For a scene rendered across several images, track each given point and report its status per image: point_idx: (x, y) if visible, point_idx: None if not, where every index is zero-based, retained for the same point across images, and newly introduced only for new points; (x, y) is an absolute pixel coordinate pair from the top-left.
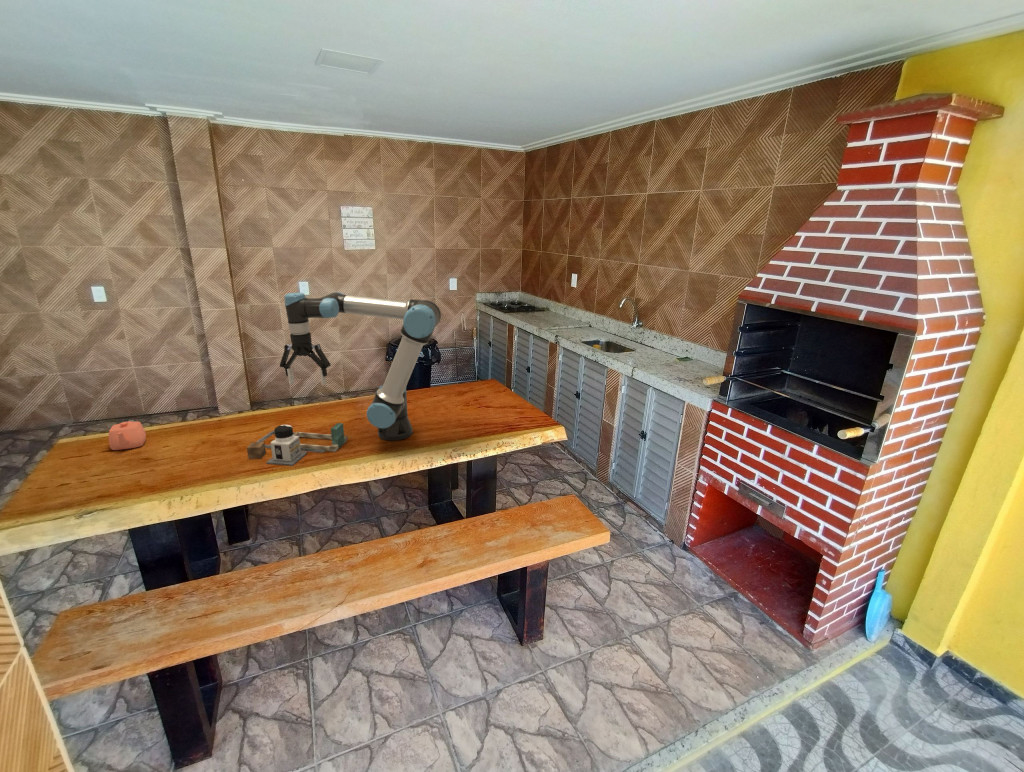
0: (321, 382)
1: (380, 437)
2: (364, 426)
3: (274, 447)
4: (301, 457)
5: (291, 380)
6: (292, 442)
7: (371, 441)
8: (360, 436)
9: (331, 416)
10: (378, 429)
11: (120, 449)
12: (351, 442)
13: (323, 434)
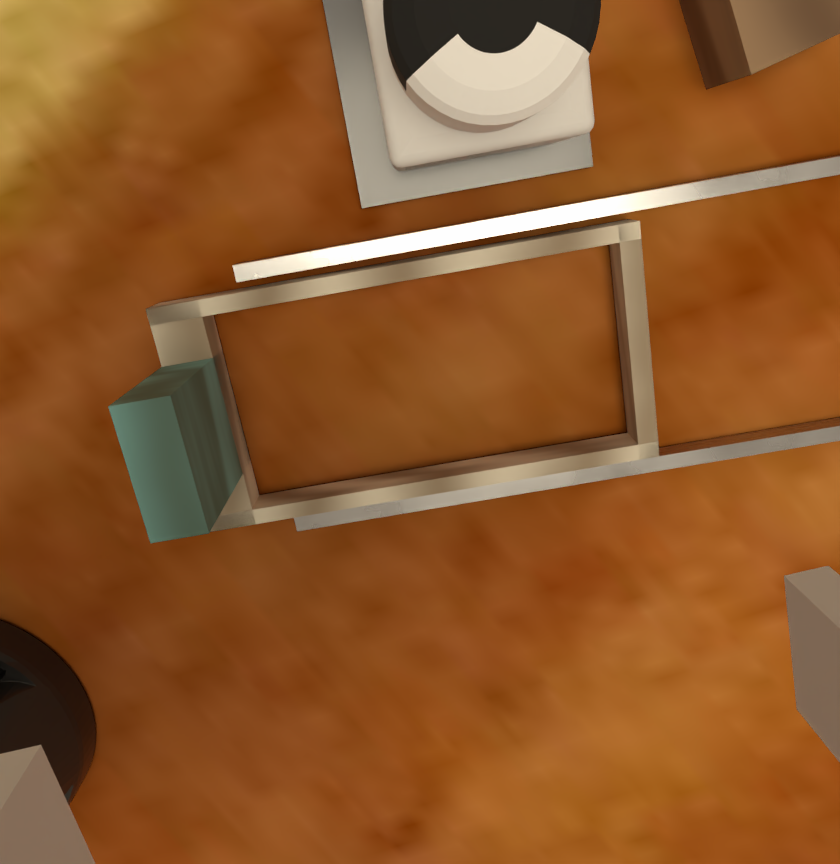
0: (9, 788)
1: (4, 626)
2: (269, 749)
3: None
4: (343, 107)
5: (836, 657)
6: (366, 24)
7: (36, 558)
8: (177, 602)
9: (622, 810)
10: (28, 688)
11: None
12: None
13: (412, 487)
